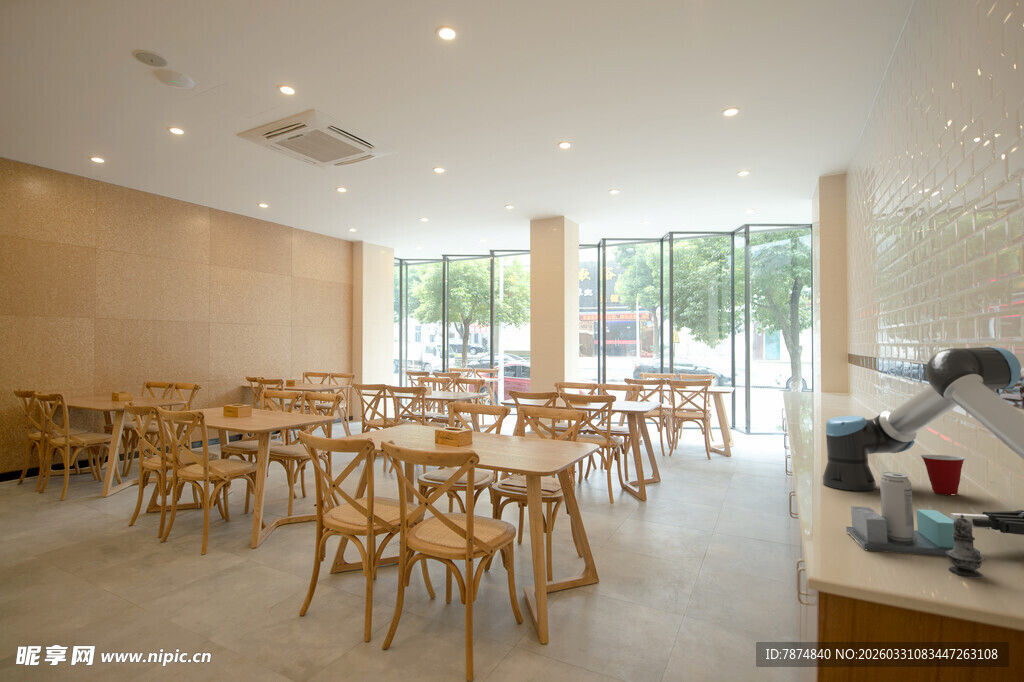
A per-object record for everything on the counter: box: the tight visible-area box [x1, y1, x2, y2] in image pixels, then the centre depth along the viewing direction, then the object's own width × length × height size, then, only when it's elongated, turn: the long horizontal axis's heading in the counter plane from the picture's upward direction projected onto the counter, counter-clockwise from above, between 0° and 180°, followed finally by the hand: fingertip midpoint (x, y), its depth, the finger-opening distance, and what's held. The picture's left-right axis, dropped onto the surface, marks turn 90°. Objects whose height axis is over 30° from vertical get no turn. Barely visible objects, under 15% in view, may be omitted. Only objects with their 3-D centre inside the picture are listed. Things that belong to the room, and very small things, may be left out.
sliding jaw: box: [916, 508, 954, 548], centre depth 117 cm, size 10×4×6 cm, turn 163°
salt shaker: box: [946, 513, 985, 579], centre depth 103 cm, size 6×6×12 cm
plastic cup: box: [920, 454, 966, 496], centre depth 159 cm, size 11×11×12 cm
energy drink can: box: [879, 471, 915, 541], centre depth 119 cm, size 6×6×15 cm
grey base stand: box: [845, 505, 981, 557], centre depth 119 cm, size 12×22×7 cm, turn 73°
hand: (953, 519), depth 116 cm, fingers closed
